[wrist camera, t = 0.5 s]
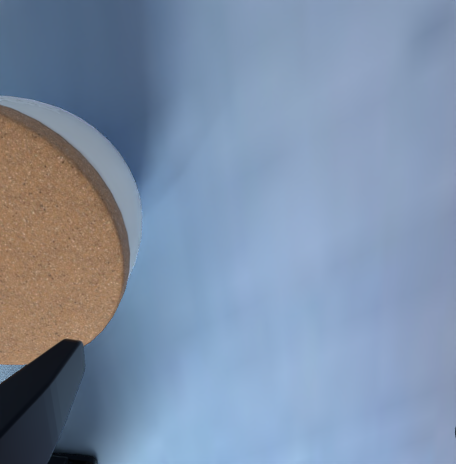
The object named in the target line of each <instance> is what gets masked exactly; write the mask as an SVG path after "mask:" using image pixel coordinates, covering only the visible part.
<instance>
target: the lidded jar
mask: <svg viewBox="0 0 456 464" xmlns="http://www.w3.org/2000/svg"><path fill="white" fill-rule="evenodd" d="M141 235H142V206H141V199H140V195H139V192H138V188H137V185H136V182H135V180H134V178H133V176H132V173H131V171H130V169H129V167H128V165H127V164H126V162H125V161H124V159H123V158H122V156H121V154H120V153H119V152H118V151H117V149H116V148H115V147H114V146H113V145H112V144H111V142H110V141H109V140H108V139H107V138H105V137H104V136H103V135H102V134H101V133H100V132H99V131H98V130H97V129H95V128H94V127H93V126H91V125H90V124H88V123H87V122H85V121H84V120H83V119H81V118H80V117H78V116H76V115H74V114H72V113H70V112H68V111H66V110H64V109H62V108H59V107H56V106H53V105H50V104H46V103H43V102H40V101H36V100H32V99H26V98H19V97H13V96H0V364H4V365H24V364H29V363H30V362H32V361H33V360H34V359H36V358H37V357H39V356H40V355H41V354H43V353H44V352H46V351H47V350H48V349H50V348H51V347H53V346H54V345H56V344H57V343H58V342H60V341H61V340H63V339H74V340H80V341H82V343H83V346H85V345H86V344H88V343H90V342H91V341H92V340H93V339H94V338H95V337H96V336H97V335H98V334H100V333H101V332H102V331H103V330H104V328H105V327H106V325H107V324H108V323H109V321H110V320H111V318H112V317H113V315H114V313H115V312H116V309H117V307H118V305H119V303H120V301H121V299H122V296H123V294H124V292H125V289H126V285H127V281H128V279H129V277H130V274H131V272H132V270H133V267H134V265H135V262H136V258H137V254H138V250H139V246H140V242H141Z"/></svg>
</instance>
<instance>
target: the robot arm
mask: <svg viewBox="0 0 456 464" xmlns="http://www.w3.org/2000/svg"><path fill="white" fill-rule="evenodd" d="M84 371H85V357H84V346H83V343H82V341H80V340H74V339H63V340H61V341H60V342H58V343H57V344H56V345H54V346H53V347H51V348H50V349H48V350H47V351H46V352H44V353H43V354H41V355H40V356H39V357H37V358H36V359H34V360H33V361H32V362H30V363H29V364H27V365H26V366H25V367H23V368H22V369H20V370H19V371H17V372H16V373H15V374H13V375H12V376H10V377H9V378H8V379H6V380H5V381H3V382H2V383H1V384H0V464H97V461H96V459H95V458H94V457H91V456H82V455H71V454H60V453H53V451H54V449H55V447H56V444H57V442H58V440H59V438H60V435H61V433H62V430H63V428H64V425H65V422H66V420H67V417H68V414H69V412H70V409H71V406H72V404H73V401H74V399H75V396H76V393H77V391H78V388H79V385H80V383H81V380H82V377H83V374H84ZM455 436H456V428H455Z"/></svg>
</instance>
